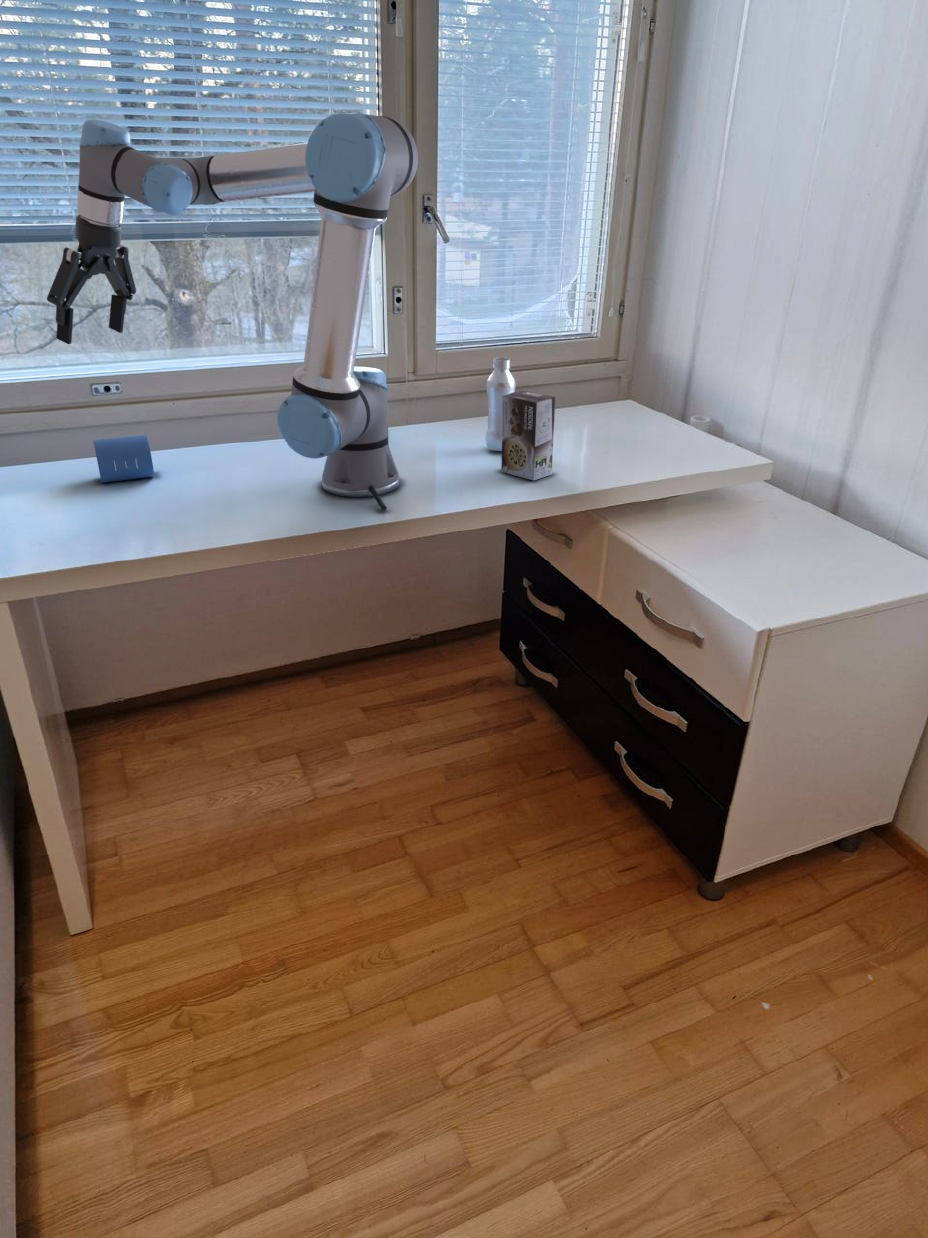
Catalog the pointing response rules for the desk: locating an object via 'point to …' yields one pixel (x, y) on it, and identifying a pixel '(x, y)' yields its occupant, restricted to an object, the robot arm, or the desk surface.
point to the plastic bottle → (497, 400)
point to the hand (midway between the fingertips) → (90, 335)
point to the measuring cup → (124, 458)
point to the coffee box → (527, 434)
